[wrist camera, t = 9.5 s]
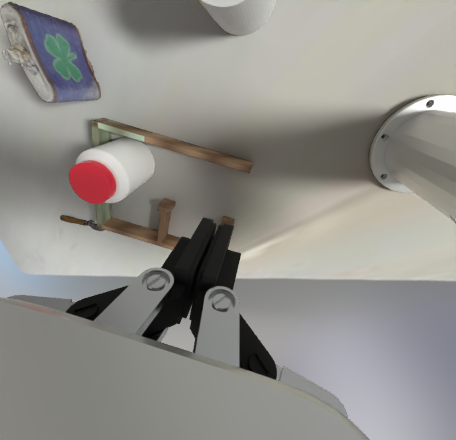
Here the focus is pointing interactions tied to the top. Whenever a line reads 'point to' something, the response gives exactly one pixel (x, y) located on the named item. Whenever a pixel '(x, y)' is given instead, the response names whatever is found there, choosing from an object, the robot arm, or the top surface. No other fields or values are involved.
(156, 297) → the robot arm
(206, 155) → the wooden frame
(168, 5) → the top surface
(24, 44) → the flask
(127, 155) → the pill bottle
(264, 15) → the cup
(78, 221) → the can opener
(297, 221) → the top surface
